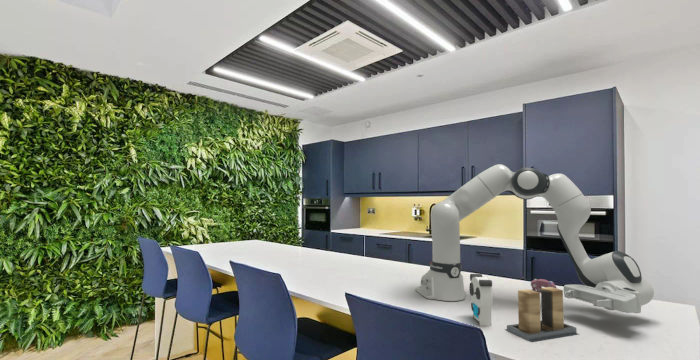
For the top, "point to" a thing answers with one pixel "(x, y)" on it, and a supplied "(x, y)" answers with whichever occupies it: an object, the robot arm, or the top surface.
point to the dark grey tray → (543, 333)
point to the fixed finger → (529, 311)
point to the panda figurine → (481, 298)
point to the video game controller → (541, 284)
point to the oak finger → (552, 308)
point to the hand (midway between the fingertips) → (580, 299)
